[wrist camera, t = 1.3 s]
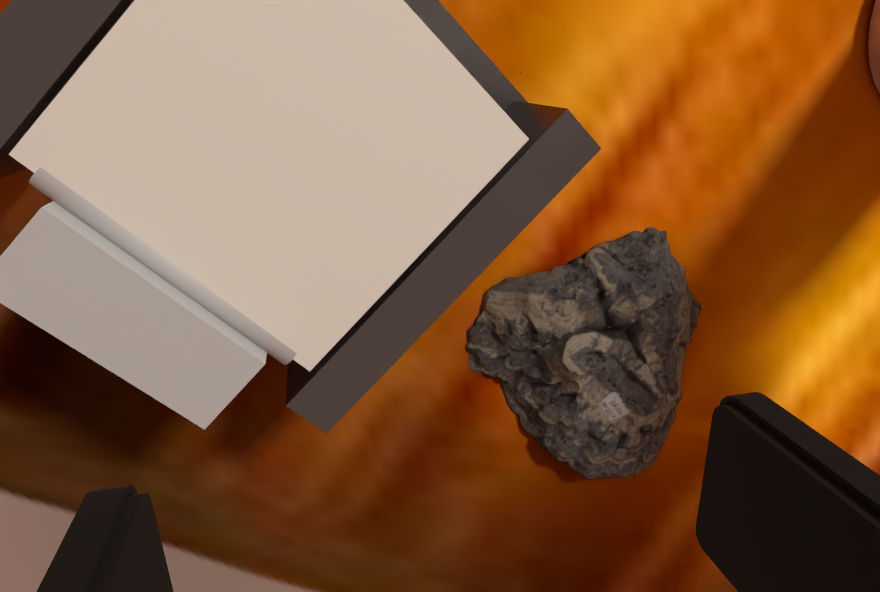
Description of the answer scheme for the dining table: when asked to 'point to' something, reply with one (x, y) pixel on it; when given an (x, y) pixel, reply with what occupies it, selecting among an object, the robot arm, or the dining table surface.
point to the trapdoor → (243, 186)
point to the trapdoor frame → (434, 271)
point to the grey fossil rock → (592, 352)
